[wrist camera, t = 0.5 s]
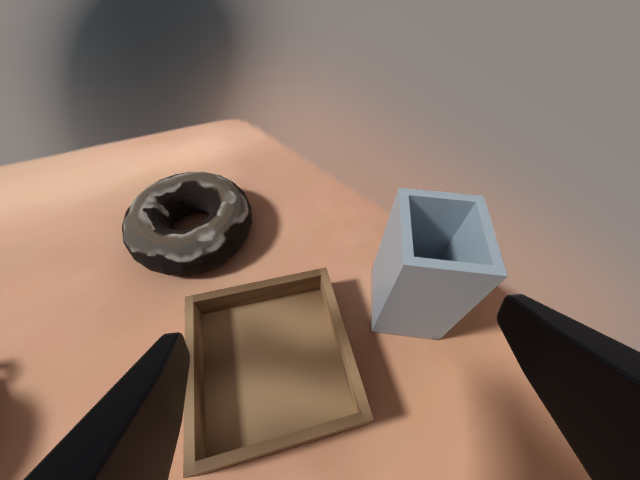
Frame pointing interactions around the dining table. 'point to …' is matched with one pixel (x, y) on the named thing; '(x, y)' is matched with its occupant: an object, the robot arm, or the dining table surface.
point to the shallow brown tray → (267, 371)
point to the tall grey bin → (433, 263)
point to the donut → (192, 244)
